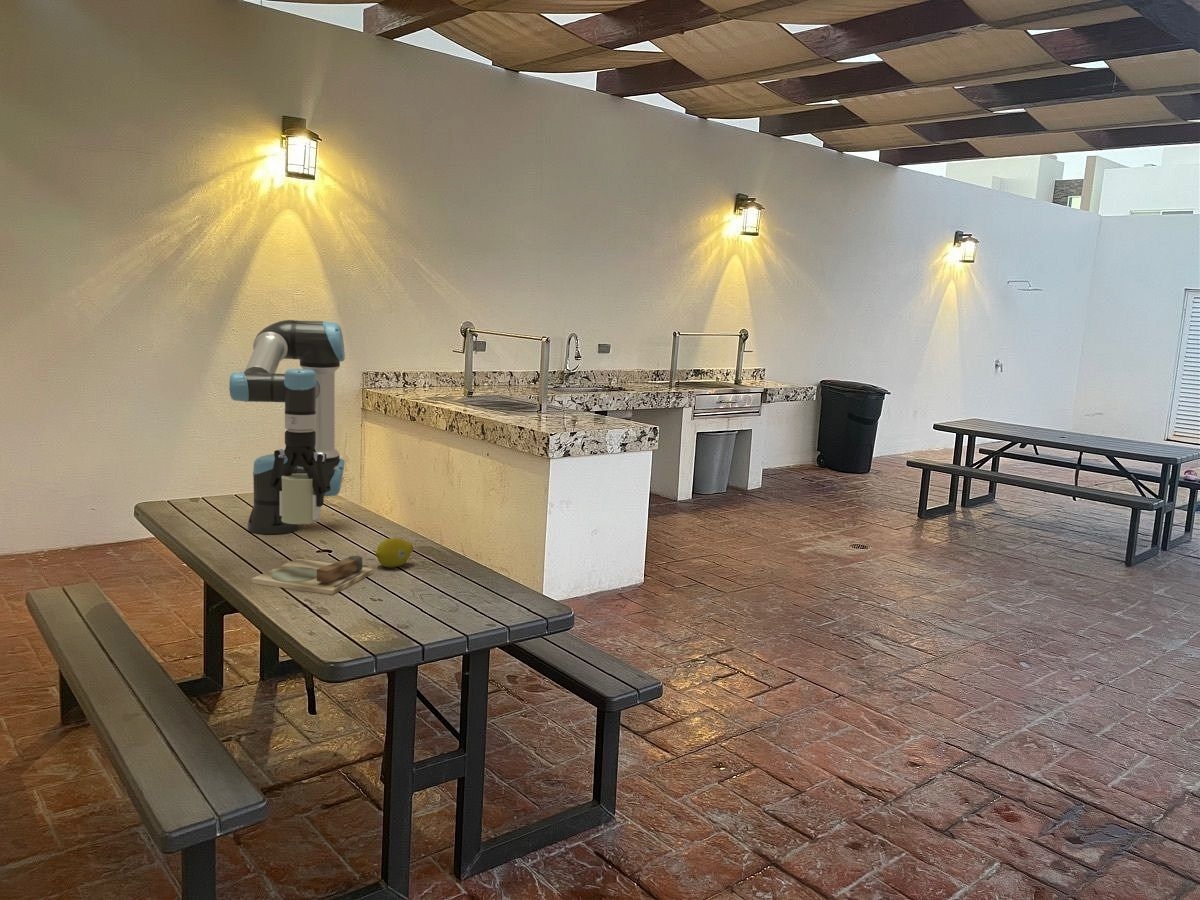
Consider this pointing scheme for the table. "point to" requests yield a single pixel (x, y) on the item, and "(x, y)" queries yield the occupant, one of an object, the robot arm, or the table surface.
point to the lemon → (393, 552)
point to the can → (297, 499)
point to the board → (308, 577)
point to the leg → (339, 569)
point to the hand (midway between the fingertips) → (300, 516)
